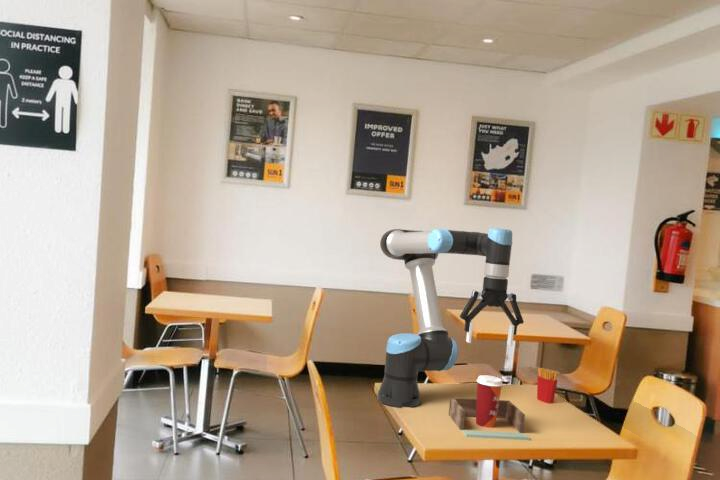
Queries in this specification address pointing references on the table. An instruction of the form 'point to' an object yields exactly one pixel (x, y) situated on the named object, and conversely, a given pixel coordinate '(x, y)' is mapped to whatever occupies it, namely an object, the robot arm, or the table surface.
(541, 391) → the french fries
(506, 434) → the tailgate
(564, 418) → the table surface
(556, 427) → the table surface
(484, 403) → the coffee cup
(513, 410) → the crate
